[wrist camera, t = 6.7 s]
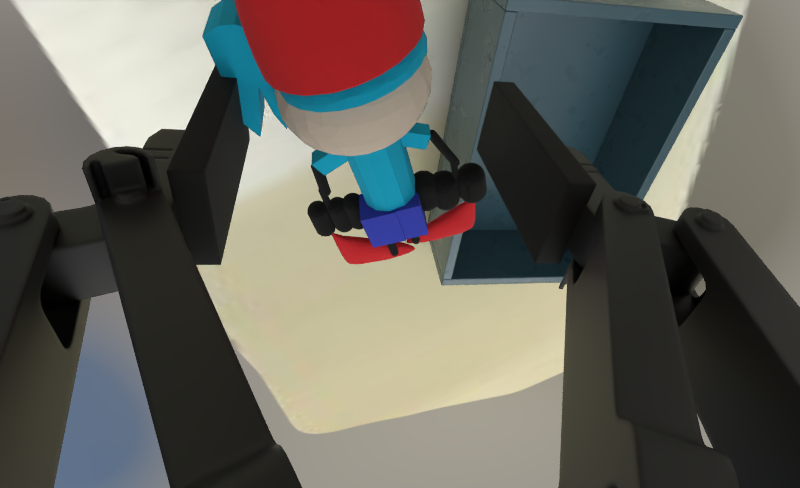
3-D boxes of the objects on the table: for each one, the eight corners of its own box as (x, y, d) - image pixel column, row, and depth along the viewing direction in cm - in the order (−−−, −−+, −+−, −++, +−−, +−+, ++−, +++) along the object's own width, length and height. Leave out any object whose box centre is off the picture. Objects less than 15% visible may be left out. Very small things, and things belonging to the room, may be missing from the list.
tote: (474, -33, 27) (508, -5, 22) (673, -14, 30) (744, 15, 25) (426, 231, 41) (441, 285, 36) (566, 231, 43) (598, 281, 38)
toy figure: (480, 194, 22) (421, -235, 11) (505, 278, 19) (460, -194, 8) (333, 229, 23) (129, -132, 12) (334, 314, 20) (59, -58, 9)
